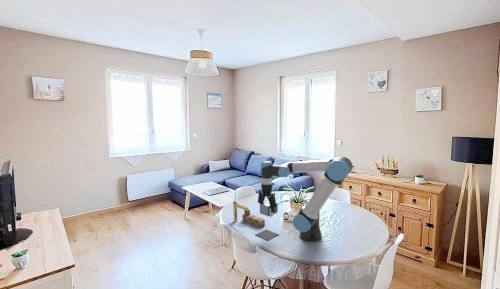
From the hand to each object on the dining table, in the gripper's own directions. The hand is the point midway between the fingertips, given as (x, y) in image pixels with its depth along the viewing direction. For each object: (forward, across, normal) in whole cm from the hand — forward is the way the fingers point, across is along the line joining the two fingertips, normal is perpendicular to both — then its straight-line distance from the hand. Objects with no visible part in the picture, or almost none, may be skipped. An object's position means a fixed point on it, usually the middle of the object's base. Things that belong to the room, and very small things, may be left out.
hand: (266, 214), depth 188 cm
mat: (+15, 0, 0) cm, 15 cm away
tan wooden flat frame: (+15, +28, 0) cm, 32 cm away
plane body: (+15, +22, -8) cm, 28 cm away
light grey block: (-1, 0, -2) cm, 2 cm away
